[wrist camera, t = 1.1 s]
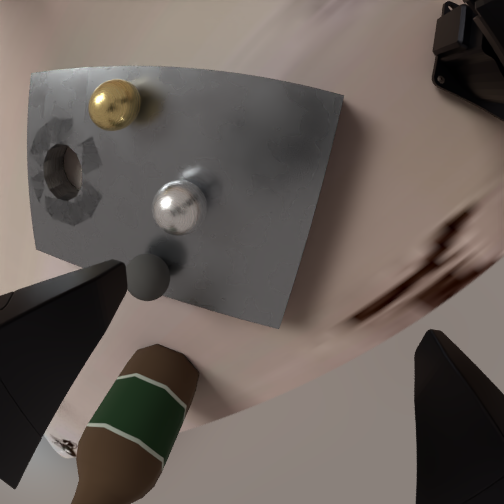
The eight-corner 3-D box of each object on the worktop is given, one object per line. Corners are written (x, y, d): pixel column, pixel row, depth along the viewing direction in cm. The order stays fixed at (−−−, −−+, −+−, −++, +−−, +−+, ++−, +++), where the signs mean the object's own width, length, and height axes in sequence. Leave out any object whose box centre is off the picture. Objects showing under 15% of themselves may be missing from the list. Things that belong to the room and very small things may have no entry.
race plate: (340, 97, 17) (344, 95, 14) (283, 308, 24) (279, 329, 22) (51, 72, 19) (31, 73, 16) (52, 238, 26) (36, 249, 24)
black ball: (178, 252, 21) (158, 276, 18) (176, 290, 22) (157, 316, 20) (138, 240, 21) (114, 262, 18) (138, 277, 23) (117, 301, 20)
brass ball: (154, 80, 16) (124, 78, 13) (147, 130, 17) (118, 137, 15) (112, 79, 16) (80, 79, 13) (107, 125, 18) (75, 132, 15)
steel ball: (217, 180, 18) (198, 195, 15) (210, 228, 20) (192, 251, 17) (169, 169, 18) (143, 183, 16) (164, 217, 20) (140, 237, 17)
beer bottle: (149, 386, 33) (62, 552, 12) (125, 338, 30) (4, 523, 9) (209, 395, 32) (132, 590, 11) (191, 344, 28) (77, 577, 7)
